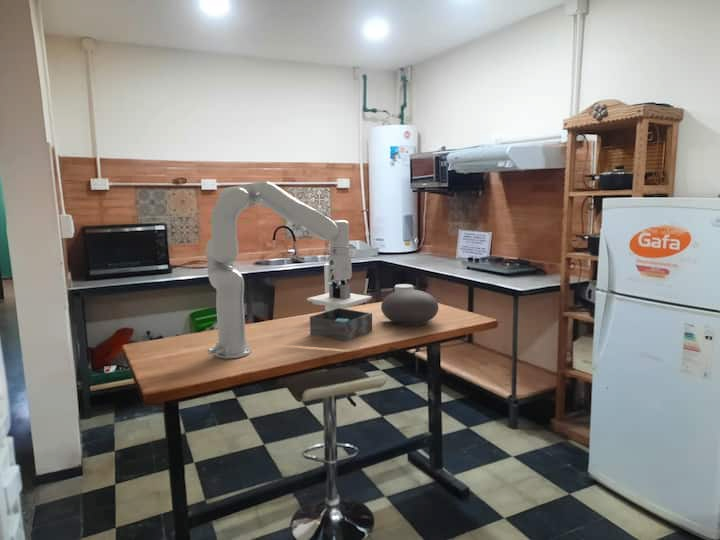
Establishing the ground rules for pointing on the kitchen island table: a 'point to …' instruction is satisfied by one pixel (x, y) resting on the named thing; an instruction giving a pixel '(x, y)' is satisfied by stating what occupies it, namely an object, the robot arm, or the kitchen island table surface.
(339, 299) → the lid
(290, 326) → the kitchen island table surface
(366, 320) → the box
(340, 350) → the kitchen island table surface
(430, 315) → the squat round vase
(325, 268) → the tall white block
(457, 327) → the kitchen island table surface
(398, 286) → the coffee cup
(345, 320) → the teal block
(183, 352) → the kitchen island table surface
